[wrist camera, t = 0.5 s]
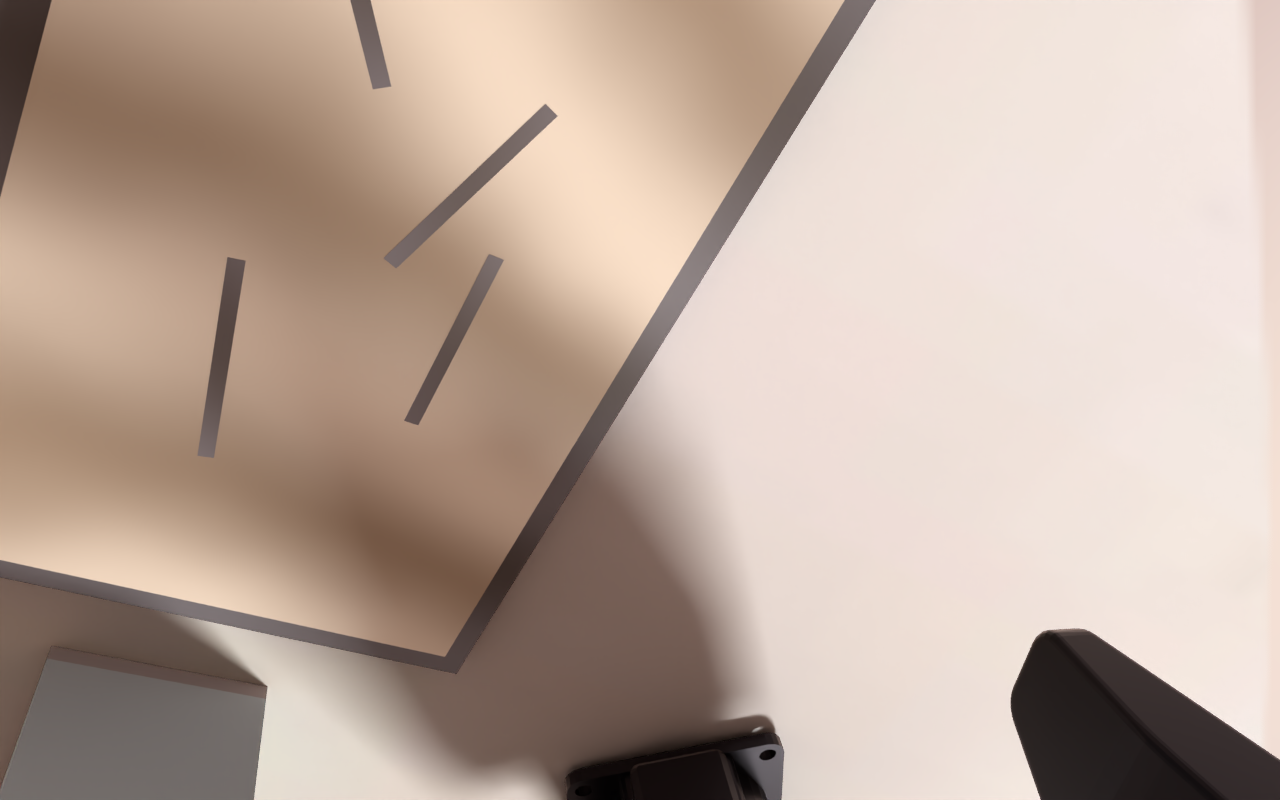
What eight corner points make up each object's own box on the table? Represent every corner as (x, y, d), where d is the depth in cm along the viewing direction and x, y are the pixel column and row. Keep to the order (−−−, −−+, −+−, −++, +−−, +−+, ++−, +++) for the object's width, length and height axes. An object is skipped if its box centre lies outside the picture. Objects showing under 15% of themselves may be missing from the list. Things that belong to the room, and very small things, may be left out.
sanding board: (455, 655, 27) (458, 705, 26) (-131, 527, 22) (-163, 582, 21) (950, -150, 18) (992, -134, 17) (161, -708, 13) (136, -749, 12)
